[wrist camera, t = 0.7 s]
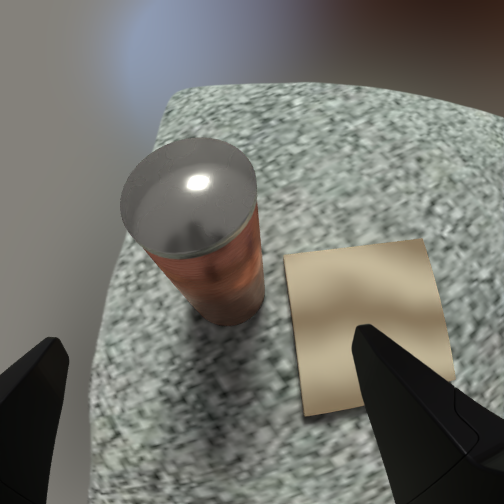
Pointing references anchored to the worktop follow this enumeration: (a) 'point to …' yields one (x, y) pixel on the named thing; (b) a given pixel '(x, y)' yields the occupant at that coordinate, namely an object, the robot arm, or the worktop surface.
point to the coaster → (361, 315)
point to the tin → (200, 225)
